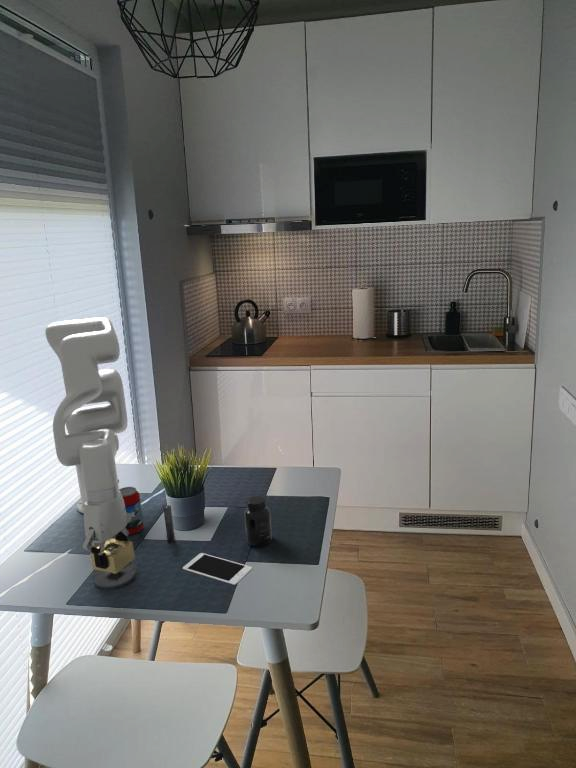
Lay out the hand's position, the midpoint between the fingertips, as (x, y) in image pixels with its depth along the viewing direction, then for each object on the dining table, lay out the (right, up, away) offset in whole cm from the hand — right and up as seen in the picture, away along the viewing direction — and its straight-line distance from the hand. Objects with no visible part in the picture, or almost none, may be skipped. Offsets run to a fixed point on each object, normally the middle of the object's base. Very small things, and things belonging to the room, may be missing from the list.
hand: (112, 558), depth 143 cm
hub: (0, -5, +1) cm, 5 cm away
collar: (0, -1, 0) cm, 1 cm away
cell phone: (+25, -4, +3) cm, 25 cm away
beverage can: (-2, +1, +24) cm, 24 cm away
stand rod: (+11, 0, +17) cm, 20 cm away
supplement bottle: (+35, 0, +14) cm, 38 cm away
